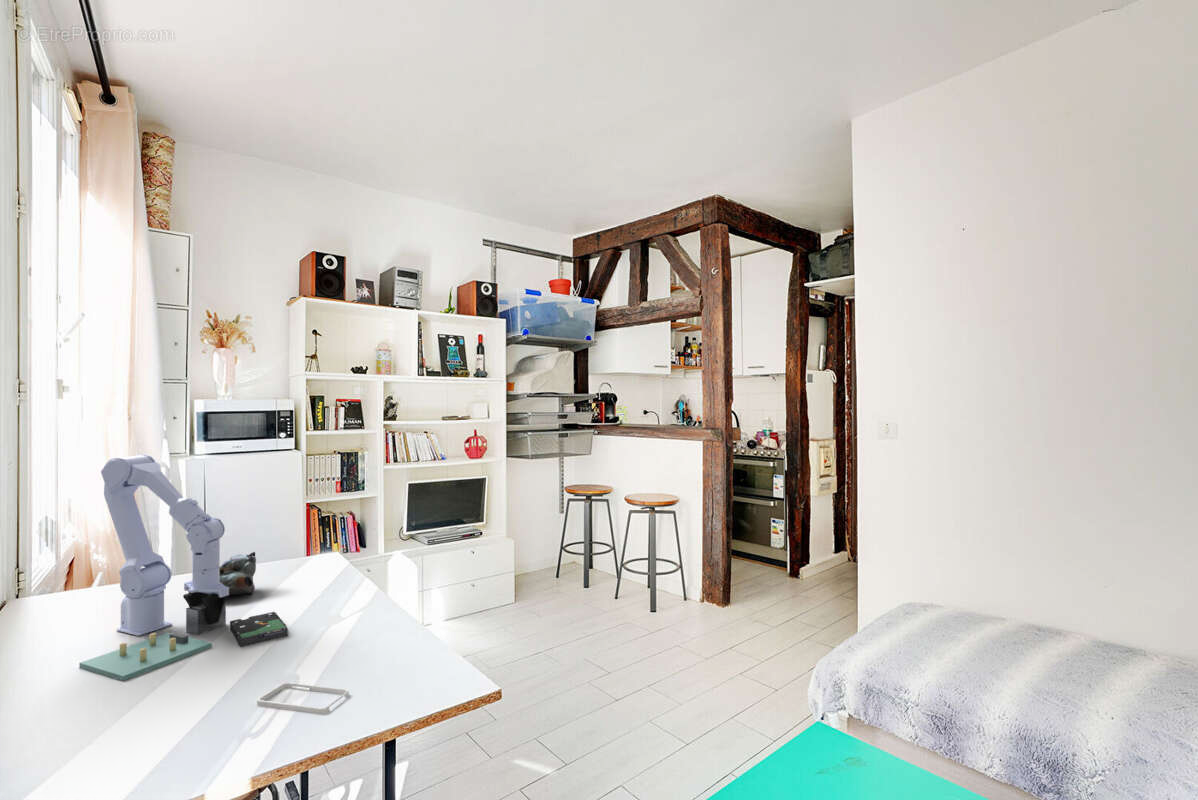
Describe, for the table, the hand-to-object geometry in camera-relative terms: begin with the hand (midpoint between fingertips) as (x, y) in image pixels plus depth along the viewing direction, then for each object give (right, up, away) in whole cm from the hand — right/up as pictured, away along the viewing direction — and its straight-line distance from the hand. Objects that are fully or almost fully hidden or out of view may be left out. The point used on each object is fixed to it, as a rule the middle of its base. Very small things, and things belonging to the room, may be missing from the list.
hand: (206, 621), depth 147 cm
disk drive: (+15, -2, -3) cm, 16 cm away
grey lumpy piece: (-10, -2, +26) cm, 28 cm away
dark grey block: (0, -2, 0) cm, 2 cm away
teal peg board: (-2, -2, -17) cm, 17 cm away
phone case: (+43, -2, -36) cm, 56 cm away
